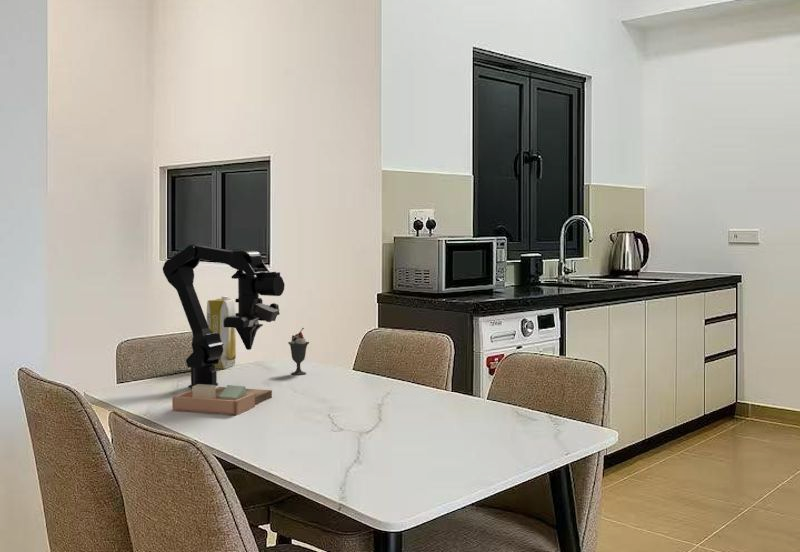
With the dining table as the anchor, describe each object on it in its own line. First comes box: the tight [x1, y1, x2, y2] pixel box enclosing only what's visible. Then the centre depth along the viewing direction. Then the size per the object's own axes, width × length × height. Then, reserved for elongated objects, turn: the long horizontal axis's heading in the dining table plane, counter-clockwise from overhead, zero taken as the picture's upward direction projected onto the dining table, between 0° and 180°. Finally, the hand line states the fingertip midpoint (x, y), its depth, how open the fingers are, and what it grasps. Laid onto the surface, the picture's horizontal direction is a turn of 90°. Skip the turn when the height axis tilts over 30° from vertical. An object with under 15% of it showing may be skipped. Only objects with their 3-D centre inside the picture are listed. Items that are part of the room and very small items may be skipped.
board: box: [216, 386, 273, 406], centre depth 212 cm, size 16×12×2 cm
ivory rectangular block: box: [191, 384, 217, 399], centre depth 204 cm, size 5×5×3 cm
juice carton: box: [206, 295, 237, 370], centre depth 264 cm, size 9×8×24 cm
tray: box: [171, 389, 256, 416], centre depth 202 cm, size 18×10×4 cm, turn 73°
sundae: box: [287, 327, 310, 376], centre depth 252 cm, size 7×7×15 cm
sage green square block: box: [219, 384, 247, 401], centre depth 204 cm, size 5×5×3 cm
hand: (248, 349), depth 224 cm, fingers closed
